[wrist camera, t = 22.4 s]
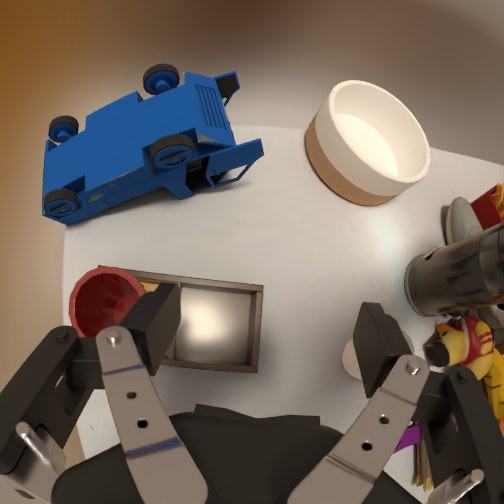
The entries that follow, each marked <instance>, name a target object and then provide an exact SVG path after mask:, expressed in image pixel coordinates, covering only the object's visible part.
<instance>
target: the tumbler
mask: <svg viewBox="0 0 504 504" xmlns="http://www.w3.org/2000/svg"><path fill="white" fill-rule="evenodd" d="M147 292H149V290H148V289H147V288H146V287H145V286H144V285H143V284H141V283H140V282H139V281H138V280H137V279H136V278H135V277H134V276H132V275H131V274H129V273H127V272H125V271H124V270H122V269H120V268H117V267H105V266H103V267H99V268H97V269H94V270H91V271H89V272H87V273H86V274H85V275H84V276H83V277H82V278H81V279H80V280H79V281H77V283H76V285H75V287H74V289H73V291H72V293H71V296H70V302H69V316H70V320H71V324H72V327H74V328H75V329H76V330H77V332H78V335H79V337H96V336H97V334H98V333H99V332H100V331H101V330H103V329H105V328H107V327H111V326H118V324H119V323H120V322H121V321H122V319H123V318H124V317H125V315H126V314H127V313H128V312H129V310H130V309H131V308H132V306H133V305H134V304H135V303H136V301H137V300H138V299H139V298H140V296H142V295H144V294H145V293H147Z"/></svg>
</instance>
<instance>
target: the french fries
mask: <svg viewBox="0 0 504 504" xmlns="http://www.w3.org/2000/svg"><path fill="white" fill-rule="evenodd" d="M470 204H471V207H472V209H473V211H474V213H475V215H476V217H477V219H478V221H479V223H480V225H481V227H482V229H483V230H485V229H487V228H489V227H491V226H494V225H496V224H498V223H500V222H503V221H504V184H499V183H498V184H497V185H496V186H494V187H493V188H491V189H490V190H489V191H487V192H486V193H485V194H483V195H482V196H480V197H479V198H477V199H476V200H475V201H473V202H472V203H470Z"/></svg>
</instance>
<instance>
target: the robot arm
mask: <svg viewBox="0 0 504 504" xmlns="http://www.w3.org/2000/svg"><path fill="white" fill-rule="evenodd" d="M436 248H437V247H436ZM436 248H433V249H431V250H430V251H429V252H428V253H427V254H424V255H420V256H417V257H416V258H414V259H413V260H412V261H411V262H410V264H409V266H408V268H407V271H406V276H405V289H406V294H407V297H408V300H409V302H410V304H411V306H412V307H413V309H414V310H415V311H416V312H417V313H419V314H420V315H422V316H427V317H428V316H434V315H438V314H445V313H448V314H449V315H451V316H452V317H458V316H464V313H465V316H468V315H469V312H470V310H471V309H476V308H482V307H487V306H493V305H498V304H502V303H504V221H503V222H500V223H498V224H496V225H494V226H491V227H489V228H487V229H485V230H483V231H480V232H478V233H476V234H473V235H471V236H469V237H466V238H464V239H462V240H459V241H457V242H455V243H452V244H450V245H447V246H445V247H442V248H440V249H437V250H435V249H436ZM434 250H435V251H434ZM465 311H466V312H465ZM180 322H181V304H180V289H179V285H178V284H175V283H168V282H161V283H160V284H159V285H158V287H157V288H156V289H155V291H154V292H153V291H149V292H147V293H145V294H144V295H142V296H140V298H139V299H138V300H137V301H136V303H135V304H134V305H133V306H132V308H131V309H130V310H129V312H128V313H127V314H126V315H125V317H124V318H123V319H122V321H121V322H120V323H119V324H118V326H111V327H107V328H105V329H103V330H101V331H100V332H99V333H98V334H97V336H96V337H79V335H78V332H77V330H76V329H75V328H74V327H72V326H59V327H56V328H54V329H53V330H51V331H50V332H49V333H48V334H47V336H46V337H45V338H44V339H43V340H42V341H41V343H40V344H39V345H38V346H37V347H36V348H35V350H34V351H33V352H32V353H31V355H30V356H29V357H28V358H27V360H26V361H25V362H24V363H23V365H22V366H21V367H20V368H19V369H18V371H17V372H16V373H15V375H14V376H13V377H12V379H11V380H10V381H9V382H8V384H7V385H6V386H5V388H4V389H3V390H2V392H1V393H0V479H1V480H2V481H3V482H4V483H6V484H7V485H8V486H9V487H11V488H13V489H14V490H16V491H17V492H18V493H19V494H20V495H22V496H23V497H25V498H28V499H35V498H36V499H38V500H40V501H42V502H43V503H45V504H422V503H421V502H420V501H418V500H417V499H416V498H415V497H413V496H412V495H411V494H410V493H409V492H408V491H406V490H405V489H404V488H403V487H402V486H401V485H399V484H398V483H397V482H396V481H395V480H394V479H393V478H391V477H390V476H389V475H388V474H387V473H386V472H385V471H384V470H383V468H384V467H385V465H386V464H387V462H388V460H389V459H390V457H391V455H392V454H393V452H394V450H395V448H396V447H397V445H398V443H399V441H400V439H401V437H402V436H403V434H404V432H405V430H406V428H407V426H408V424H409V422H410V421H414V422H419V423H420V426H421V430H422V434H423V438H424V443H425V447H426V451H427V456H428V461H429V465H430V470H431V476H432V481H433V486H434V490H433V491H432V492H431V494H430V496H429V498H428V504H504V437H503V434H502V432H501V429H500V427H499V424H498V422H497V420H496V417H495V415H494V413H493V410H492V408H491V406H490V404H489V402H488V399H487V397H486V395H485V393H484V391H483V389H482V387H481V385H480V383H479V381H478V379H477V377H476V375H475V373H474V372H473V371H472V370H471V369H469V368H468V367H466V366H463V365H454V366H452V367H450V369H449V370H448V372H447V374H444V373H439V372H434V371H430V367H429V365H428V364H427V362H426V361H425V360H423V359H422V358H420V357H418V356H415V355H413V354H412V351H411V349H410V347H409V345H408V343H407V341H406V339H405V337H403V333H402V331H401V330H400V327H399V325H398V323H397V321H396V320H395V319H394V318H393V317H391V316H390V315H389V314H385V313H384V310H383V308H382V306H381V304H380V303H371V302H363V303H362V305H361V308H360V311H359V315H358V318H357V322H356V325H355V329H354V332H353V346H354V349H355V353H356V357H357V361H358V365H359V369H360V373H361V377H362V381H363V385H364V389H365V394H366V398H371V399H370V401H369V402H368V404H367V405H366V406H365V408H364V409H363V411H362V412H361V413H360V415H359V416H358V417H357V419H356V420H355V421H354V423H353V424H352V425H351V427H350V428H349V429H348V431H347V432H346V433H345V434H342V433H340V432H339V431H337V430H335V429H332V428H330V427H327V426H324V425H320V416H303V415H285V416H277V417H269V418H253V417H250V416H247V415H244V414H241V413H238V412H235V411H232V410H229V409H227V408H220V407H213V406H207V405H201V404H196V407H195V410H194V412H185V413H179V414H175V415H172V416H169V417H168V415H167V413H166V411H165V409H164V407H163V405H162V403H161V401H160V398H159V396H158V394H157V392H156V390H155V387H154V385H153V383H152V380H151V378H150V376H155V374H156V372H157V370H158V368H159V366H160V364H161V362H162V360H163V358H164V356H165V354H166V352H167V350H168V348H169V346H170V344H171V342H172V340H173V338H174V336H175V334H176V332H177V330H178V328H179V325H180ZM61 376H62V377H63V378H62V379H61V381H60V382H59V384H58V385H57V387H56V388H55V386H56V383H57V382H58V380H59V379H60V377H61ZM94 389H105V391H106V395H107V398H108V402H109V406H110V409H111V413H112V416H113V419H114V423H115V426H116V429H117V432H118V435H119V438H120V441H121V443H119V444H117V445H115V446H113V447H111V448H109V449H107V450H105V451H103V452H101V453H99V454H97V455H95V456H93V457H91V458H89V459H87V460H85V461H83V462H81V463H79V464H77V465H74V466H72V467H70V468H68V469H67V470H65V464H66V456H65V454H64V452H63V448H64V446H65V444H66V442H67V439H68V438H69V436H70V434H71V432H72V430H73V428H74V426H75V424H76V422H77V420H78V418H79V416H80V415H81V413H82V411H83V409H84V407H85V405H86V403H87V401H88V400H89V398H90V396H91V394H92V392H93V390H94ZM453 417H455V420H456V422H457V430H456V427H455V424H454V421H453Z"/></svg>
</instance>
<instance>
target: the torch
mask: <svg viewBox="0 0 504 504" xmlns="http://www.w3.org/2000/svg"><path fill="white" fill-rule="evenodd" d="M484 379H485V383H486V388H487V392H488V402H489V404H490V406H491V408H492V410H493V413H494V415H495V417H496V420H497V422H498V424H499V427H500V429H501V432H502V434H503V437H504V358H503V356H502V355H501V354H500V352H499V351H498V350H497V349H496V348H495V347H494V357H493V362H492V365H491V367H490V369H489V371H488V372H487V374H486V375H485V376H484Z"/></svg>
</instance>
